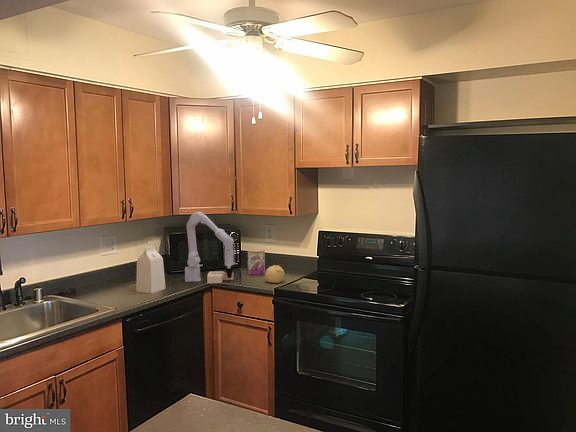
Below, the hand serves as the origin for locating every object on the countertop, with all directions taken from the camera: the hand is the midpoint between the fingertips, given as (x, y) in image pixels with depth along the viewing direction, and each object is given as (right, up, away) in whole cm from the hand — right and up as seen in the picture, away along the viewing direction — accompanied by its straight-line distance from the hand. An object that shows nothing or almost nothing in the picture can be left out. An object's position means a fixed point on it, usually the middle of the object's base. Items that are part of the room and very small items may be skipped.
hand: (229, 277), depth 298 cm
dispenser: (-9, -2, -1) cm, 9 cm away
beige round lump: (+29, -2, -6) cm, 30 cm away
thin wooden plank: (-4, -2, 0) cm, 5 cm away
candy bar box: (+16, -1, +17) cm, 23 cm away
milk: (-44, -5, -23) cm, 49 cm away
